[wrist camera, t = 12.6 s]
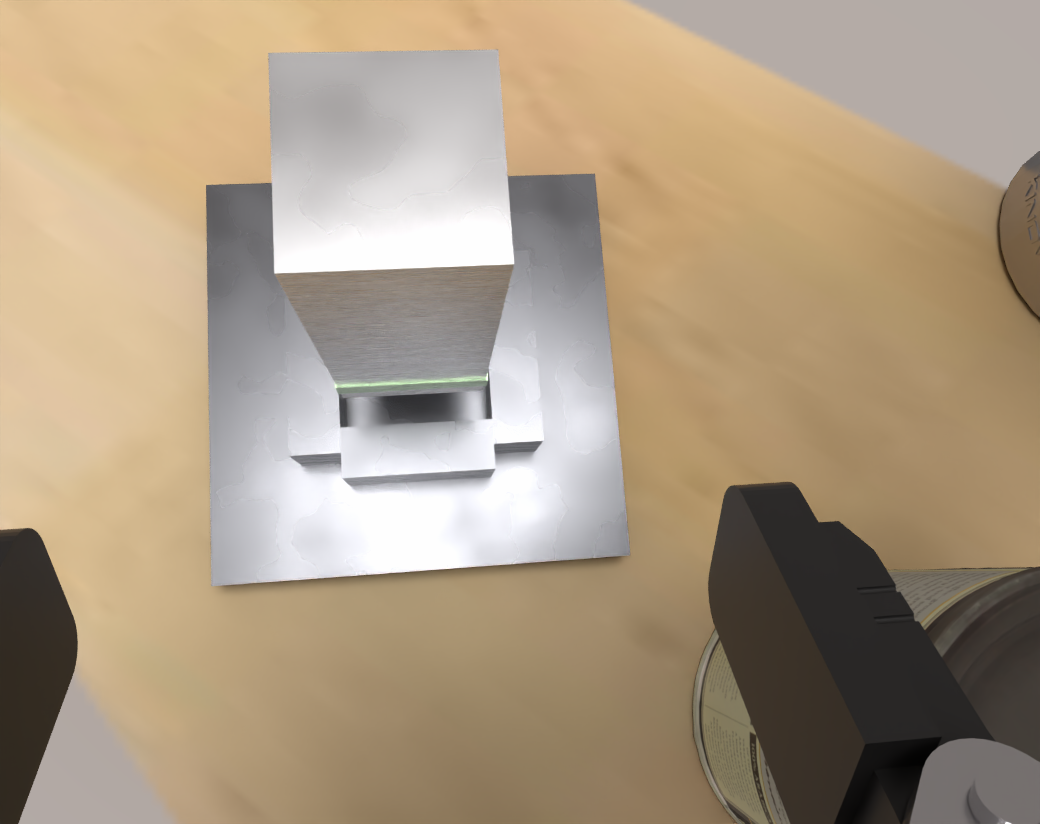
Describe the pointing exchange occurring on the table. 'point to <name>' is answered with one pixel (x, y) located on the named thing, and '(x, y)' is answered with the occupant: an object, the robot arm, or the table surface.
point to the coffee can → (957, 637)
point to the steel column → (392, 213)
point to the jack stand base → (414, 417)
